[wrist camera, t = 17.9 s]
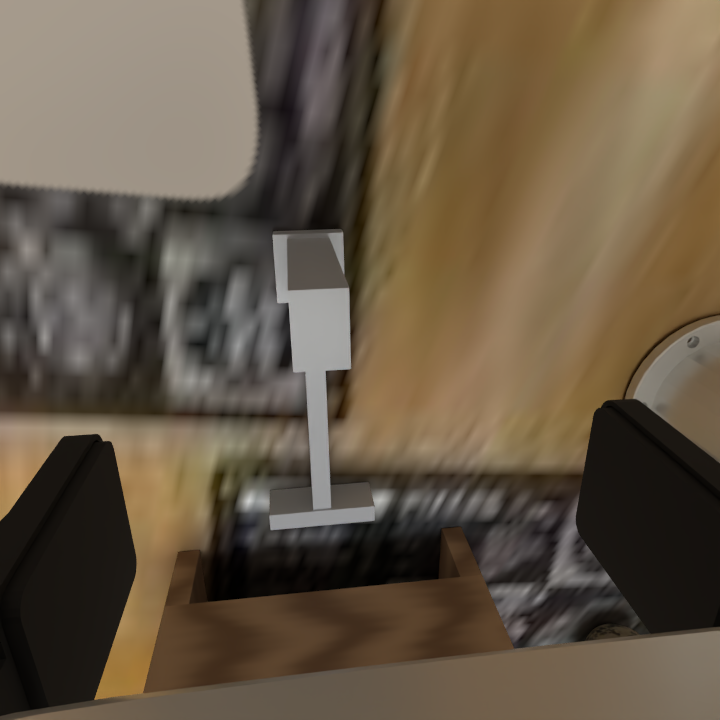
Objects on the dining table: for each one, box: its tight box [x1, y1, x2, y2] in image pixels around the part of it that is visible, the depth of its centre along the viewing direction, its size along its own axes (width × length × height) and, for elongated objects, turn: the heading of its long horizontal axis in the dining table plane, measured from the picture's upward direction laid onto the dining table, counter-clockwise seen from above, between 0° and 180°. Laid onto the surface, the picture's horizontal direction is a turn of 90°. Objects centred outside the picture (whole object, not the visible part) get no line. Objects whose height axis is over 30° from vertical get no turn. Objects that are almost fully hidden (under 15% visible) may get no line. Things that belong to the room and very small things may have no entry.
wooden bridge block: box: [143, 527, 514, 693], centre depth 38 cm, size 21×11×12 cm, turn 90°
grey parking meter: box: [269, 229, 375, 530], centre depth 31 cm, size 7×19×12 cm, turn 1°
